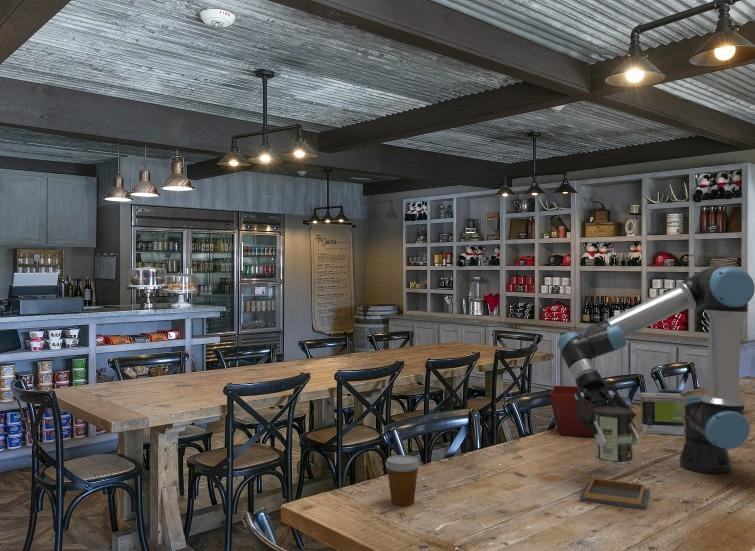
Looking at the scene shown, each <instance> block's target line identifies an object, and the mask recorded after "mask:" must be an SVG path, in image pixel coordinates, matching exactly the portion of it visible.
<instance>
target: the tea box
mask: <svg viewBox="0 0 755 551" xmlns="http://www.w3.org/2000/svg"><path fill="white" fill-rule="evenodd" d="M640 409H641V410H640V412H641V414H640V415H641V416H640V417H641V420H640V421H641V429H642V433H643V434H652V435H653V434H656V435H673V436H685V407H684V397H683V398H682V396H681V395H680V394H669V393H657V392H640Z"/></svg>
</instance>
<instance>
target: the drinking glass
mask: <svg viewBox="0 0 755 551" xmlns="http://www.w3.org/2000/svg"><path fill="white" fill-rule="evenodd" d="M656 393H669V394H680V395H681V396H682V398H683V399H684V391H682V390H677V389H658V390H657V391H656Z"/></svg>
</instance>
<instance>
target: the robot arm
mask: <svg viewBox="0 0 755 551" xmlns="http://www.w3.org/2000/svg"><path fill="white" fill-rule="evenodd" d="M754 295H755V283H754V280H753V278H752V276H751V275H750V274H749V273H748V272H746V271H745V270H744V269H741V268H739V267H735V266H730V265H729V266H713V267H708V268H705V269H703V270H701V271H699V272H698V273H696V274H694V275H692V276H690V277H688V278H686V279H684V280H682V281H680V282H678V284H677V287H675V288H672V289H670V290H668V291H666V292H663V293H662V294H659V295H657V296H655V297H652V298H650V299H649V300H646V301H645V302H641V303H640V304H637V305H635V306H633V307H631V308H629V309H626V310H625V311H622V312H620V313H617V314H616V315H614V316H611V317H609V318H607V319H605V320H602V321H601V322H598V323H593V324H590V325H588V326H587V327H586V328H584V330H583V332H582V336H580V335H579V333H578V332H575V331H572V332H567V333H564V334H562V335H561V336H560V337H559V339H558V341H557V347H558V349H559V351H560V354H561V356H562V358H563V361H564V362H565V364H566V366H567V368H568V371H569V373H570V375H571V377H572V378H573V381H574V382H575V385H576V386H577V387H578V389H579V391H580V392H579V391H577V392H576V394H575V395H574V397H573V398H574V400H575V401H576V404H577V410H578V416H579V422H580V424H581V425H583V424H585V427H587V428H588V427H589V429H590V431H591V433H592V435H595V436H594V438H595V437H596V439H597V441H598V443H599V446H600V447H603V445H604V444H605V443H606V442H607V441H606V439H605V437H604V435H603V433H602V431H601V429H600V427H599V425H598V423H597V421H594V423H593V420H594V409H595V406H597V405H601V406H602V407H607V406H608V407H622V408H627V409H630V410H632V411H633V409H632V408H631V407H630V406H629V405H628V404H627V403H626V401H625V400H624V399H623V398H622V396H620V394H619V392H618V390H617V389H616V388H614V389H613V390H608V389H607V388H606V387H605V382H604V380H603V377H602V376H601V374H600V373H599V370H598V368H597V367H596V366H597V365H596V364H595V362H594V361H593V359H596V358H598V357H600V356H604V355H606V354H609V353H612V352H614V351H619V349H620V350H621V349H622V348H624V347H626V346H627V338H626V337H627V336H630V335H631V334H634V333H636V332H638V331H639V332H640V331H641V330H643V329H645V328H647V327H650V326H652V325H655V324H656V323H659V322H661V321H663V320H665V319H668V318H670V317H672V316H674V315H677V314H679V313H681V312H683V311H686V310H687V309H691V310H696V309H698V308H701V307H703V306H704V307H703V311H704V313H706V314H707V315H708V316H709V317H708V318H709V320H708V346H707V348H708V351H707V374H706V375H707V377H706V380H707V382H706V394H705V395H688V396H686V397H685V399H684V404H683V407H684V436H685V438H684V440H685V441H684V444H683V447H682V449H681V453H680V454H679V466H681V467H682V468H683V469H686V470H689V471H693V472H696V473H702V474H703V473H704V474H716V475H717V474H727V473H730V472H732V471H733V470H732V469H733V465H732V464H733V463H732V460H731V456H730V455H729V452H728V450H730V449H736V448H739V447H741V446H742V445H743V444H745V442H746V441H747V440H748V438H749V436H750V431H751V430H750V428H751V427H750V424H749V421H748V420H747V418H746V417H745V402H744V401H743V400H742V399H741V398H740V397H739V396H740V395H739V394H740V372H741V371H740V370H741V369H740V368H741V367H740V366H741V365H740V364H741V342H742V339H741V337H742V336H741V335H742V318H743V317H744V316H746V315H747V314H748V310H749V308H748V307H749V303H750V301H751V300H752V298H753V296H754ZM583 398H584V399H585V400H587V401H588V403H587V407H588V409H587V416H586V410H585V405H584V399H583ZM636 416H637V414H636V412H635V411H633V414H632V445H635V444H637V443H638V442H639V440H641V438H640V436H639V435H638V432H637V427H636V425H635V423H634V421H633V420H634V419H635V417H636Z"/></svg>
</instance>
